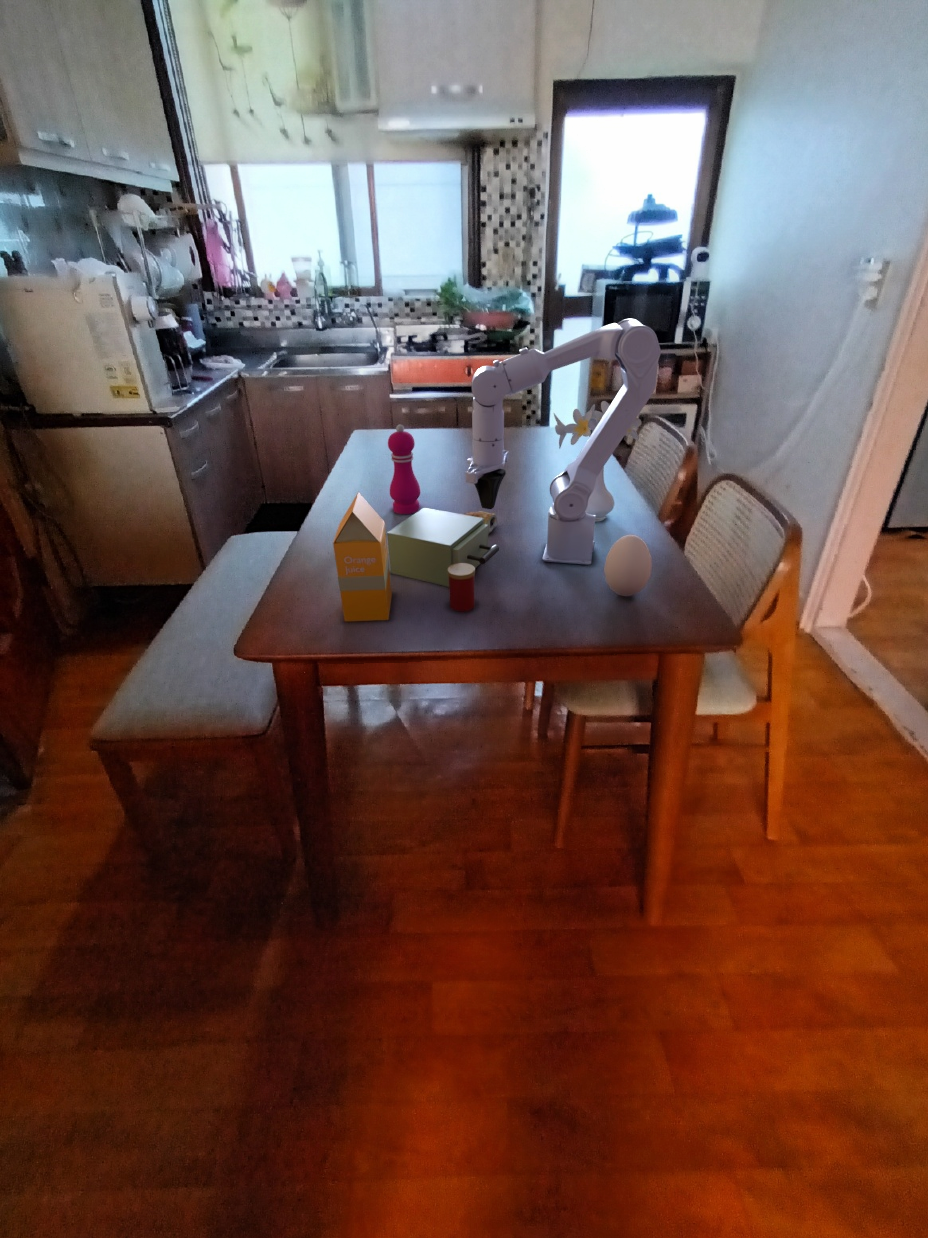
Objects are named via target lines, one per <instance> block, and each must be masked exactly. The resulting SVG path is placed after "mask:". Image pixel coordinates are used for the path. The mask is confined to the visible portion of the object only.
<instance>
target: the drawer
mask: <svg viewBox="0 0 928 1238" xmlns="http://www.w3.org/2000/svg"><path fill="white" fill-rule="evenodd" d="M499 551H500V546H499V545H498V544H494V545H492V546H491V545H489V534H488V525H486V524H482V525H481V526H480V527H478V528H477V529H476V530H474V531H472V532H471V533H470V534H469V535H468V536H466V537H465V538H464V539H463V540H462V541H460V542H459V543H458V544H457V545H455V546H454V547H453V549H452V554H453V564H456V563H468V564H471V565H473V566H474V568H475V569H476V568H477V567H478V566H479V565H485V564H487V563H488V561H489V560H491V559H492V558H493V557H494V556H495V555H496V554H497V553H498V552H499Z"/></svg>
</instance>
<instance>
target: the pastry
mask: <svg viewBox="0 0 928 1238" xmlns="http://www.w3.org/2000/svg"><path fill="white" fill-rule="evenodd" d="M461 514H462V515H468V516H473V517H479V518H484V524H486V525H488V535H490V533H491V532H493V530H494V529H495V528H496V527H497V526H498V523H499V522H498V517H497V515H496V513H494V512H492V513H490V512H486V511H483V510H478V511H468V512H464V513H461Z"/></svg>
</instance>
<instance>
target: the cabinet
mask: <svg viewBox="0 0 928 1238" xmlns="http://www.w3.org/2000/svg"><path fill="white" fill-rule="evenodd" d="M462 514H463V513H456V512H450V511H445V510H441V509H434V508H429V507H423V508H421V509H419V510H418V511H417V512H415V513H413V514H412V515H411V516H409V517H408V518H406V519H405V520H403V521H401V522H400V523H399V524H397V525H396V526H394V527H393V528H392V529H390V530H388V531H387V532H386V539H387V549H388V559H389V570H390V574H394V575H396V576H402V577H405V578H410V579H413V580H418V581H422V582H425V583H426V582H427V583H431V584H434V585H440V586H443V587H447V588H449V575H448V567H449V566H451V565H453V554H452V549H453V547H454V546H455V545H457V544H458V543H459V542H460V541H462V540H463V539H464V538H465V537H466V536H468V535H469V534H470V533H471V532H472V531H474V530H476V529H477V528H478V527H480V526H481V525H482V524H484V518H479V517H473V516H468V515H462Z"/></svg>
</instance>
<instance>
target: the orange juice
mask: <svg viewBox="0 0 928 1238" xmlns="http://www.w3.org/2000/svg"><path fill="white" fill-rule="evenodd" d="M386 531H387V530H386V522H385V520H384V519H383V518H382V517H381V516H380V515H379V513H378V512H377V511H376V510H375V509H374V508H373V507H372V506H371V505H370V503H369V502H368V501H367V500H366V498H364V496H363V495H362V494H361V493H360V491H357V494H356V495H355V497H354V499H353V500H352V502H351V504H350V505H349V507H348V509H347V510H346V512H345V513H344V515H343V517H342V519H341V521H340V522H339V524H338V527H337V530H336V533H335V536H334V539H333V542H332V545H333V552H334V559H335V565H336V566H335V567H336V572H337V580H338V587H339V592H340V600H341V606H342V612H343V613H342V614H343V618H344V619H343V620H344V622H366V621H367V622H368V621H389V619H390V611H391V603H392V596H393V594H392V592H393V591H392V584H391V571H390V558H389V550H388V540H387V532H386Z"/></svg>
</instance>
